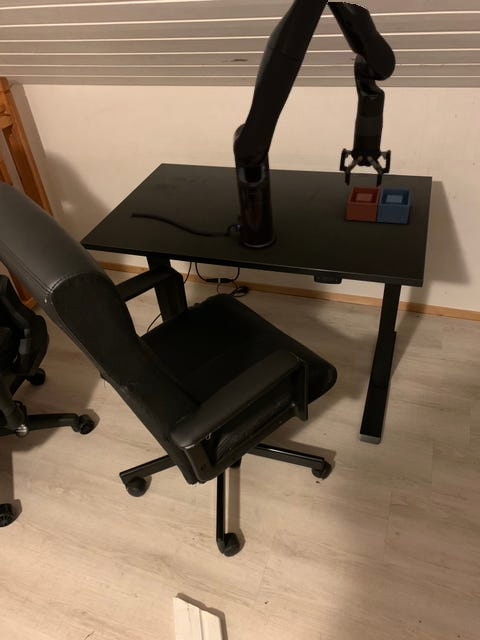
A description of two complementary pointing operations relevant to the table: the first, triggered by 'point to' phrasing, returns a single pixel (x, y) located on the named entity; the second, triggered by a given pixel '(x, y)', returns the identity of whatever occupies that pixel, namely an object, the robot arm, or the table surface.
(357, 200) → the terracotta block
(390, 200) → the blue block
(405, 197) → the blue bin
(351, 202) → the terracotta bin
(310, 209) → the table surface
